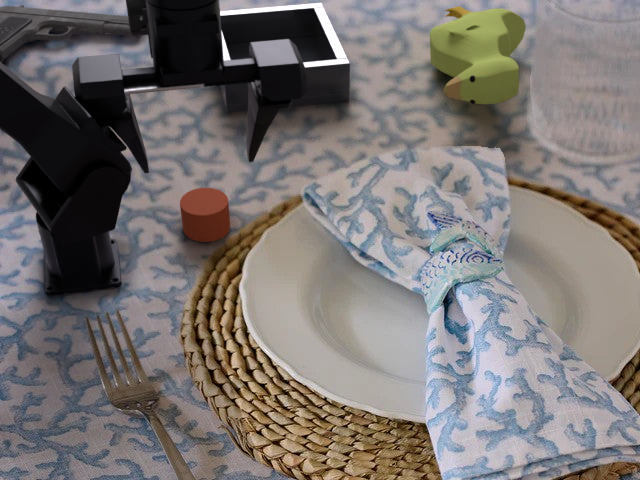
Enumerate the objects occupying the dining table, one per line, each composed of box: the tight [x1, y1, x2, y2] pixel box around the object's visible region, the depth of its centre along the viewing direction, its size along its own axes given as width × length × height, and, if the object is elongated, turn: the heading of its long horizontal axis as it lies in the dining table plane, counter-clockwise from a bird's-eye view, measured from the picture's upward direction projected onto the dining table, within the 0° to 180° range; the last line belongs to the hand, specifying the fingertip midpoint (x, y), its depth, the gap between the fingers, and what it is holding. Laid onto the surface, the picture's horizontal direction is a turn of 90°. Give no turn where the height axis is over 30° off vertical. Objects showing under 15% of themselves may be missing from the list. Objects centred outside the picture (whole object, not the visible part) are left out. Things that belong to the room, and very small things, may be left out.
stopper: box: [179, 187, 231, 243], centre depth 94 cm, size 4×4×3 cm
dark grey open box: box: [219, 2, 351, 114], centre depth 114 cm, size 15×14×4 cm
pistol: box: [0, 4, 140, 64], centre depth 119 cm, size 2×18×12 cm
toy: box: [429, 6, 527, 105], centre depth 114 cm, size 6×17×20 cm
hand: (198, 165), depth 90 cm, fingers open, 9 cm apart
